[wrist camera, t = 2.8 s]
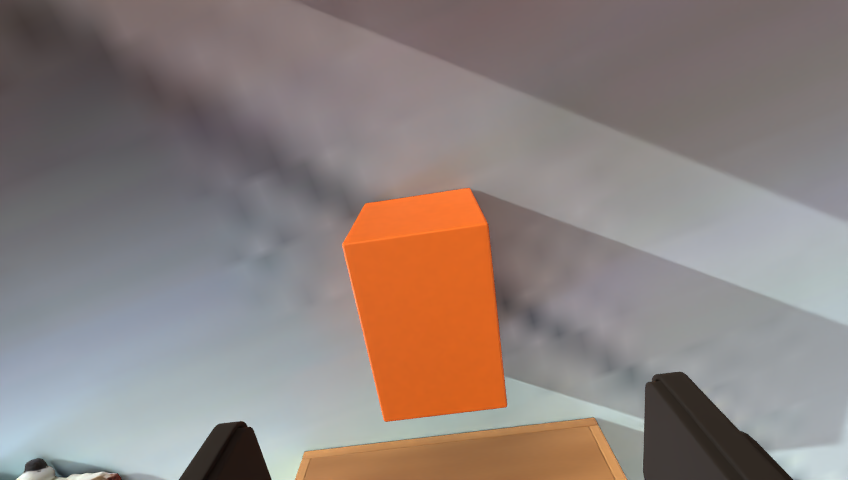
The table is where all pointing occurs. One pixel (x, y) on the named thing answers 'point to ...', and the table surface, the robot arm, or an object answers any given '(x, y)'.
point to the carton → (475, 456)
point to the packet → (427, 304)
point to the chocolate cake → (42, 476)
